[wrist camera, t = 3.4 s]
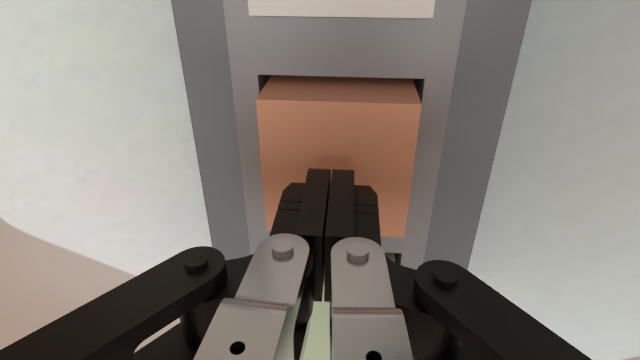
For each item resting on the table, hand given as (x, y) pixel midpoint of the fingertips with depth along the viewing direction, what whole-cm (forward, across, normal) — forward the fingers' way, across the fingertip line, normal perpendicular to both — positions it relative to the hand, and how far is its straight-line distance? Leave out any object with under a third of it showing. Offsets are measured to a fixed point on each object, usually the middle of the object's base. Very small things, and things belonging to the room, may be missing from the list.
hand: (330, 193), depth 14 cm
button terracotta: (+4, 0, 0) cm, 4 cm away
